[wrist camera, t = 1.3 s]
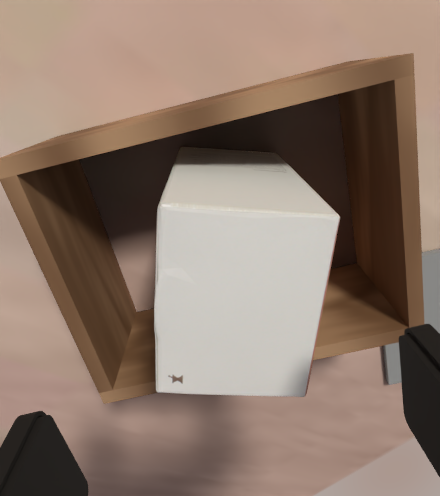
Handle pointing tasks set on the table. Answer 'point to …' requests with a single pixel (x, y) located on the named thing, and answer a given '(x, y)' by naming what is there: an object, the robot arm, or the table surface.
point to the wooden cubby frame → (208, 114)
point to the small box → (239, 275)
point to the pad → (435, 312)
